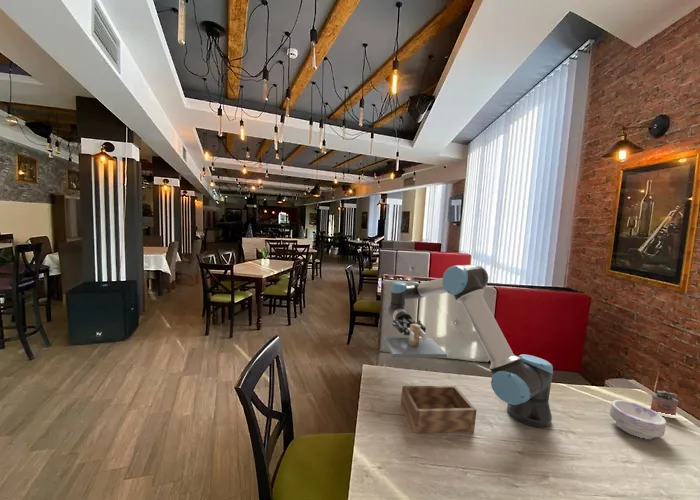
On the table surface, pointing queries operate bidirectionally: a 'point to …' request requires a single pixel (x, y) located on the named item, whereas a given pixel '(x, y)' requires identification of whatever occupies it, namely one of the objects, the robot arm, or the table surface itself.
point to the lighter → (664, 402)
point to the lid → (414, 346)
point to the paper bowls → (637, 419)
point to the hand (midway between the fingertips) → (418, 336)
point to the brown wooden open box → (437, 409)
